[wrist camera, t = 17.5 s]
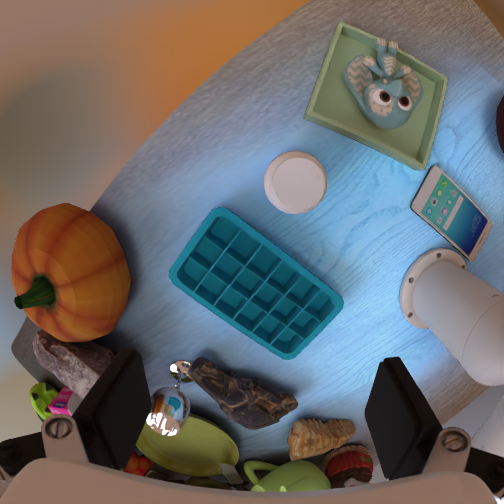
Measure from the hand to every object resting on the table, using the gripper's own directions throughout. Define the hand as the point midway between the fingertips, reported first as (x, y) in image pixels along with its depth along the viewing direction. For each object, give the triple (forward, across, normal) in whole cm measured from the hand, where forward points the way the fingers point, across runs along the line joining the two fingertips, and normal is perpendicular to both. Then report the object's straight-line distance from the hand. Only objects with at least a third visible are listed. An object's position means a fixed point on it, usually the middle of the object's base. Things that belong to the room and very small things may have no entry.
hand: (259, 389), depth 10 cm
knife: (+26, +1, +51) cm, 57 cm away
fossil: (+25, -9, +40) cm, 48 cm away
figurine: (+25, +31, +48) cm, 62 cm away
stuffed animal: (+23, -14, -26) cm, 38 cm away
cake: (+28, -18, +45) cm, 56 cm away
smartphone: (+28, -27, -4) cm, 39 cm away
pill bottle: (+28, -3, -7) cm, 29 cm away
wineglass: (+28, +12, +22) cm, 38 cm away
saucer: (+28, +13, +40) cm, 50 cm away
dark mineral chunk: (+25, -2, +29) cm, 39 cm away
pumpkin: (+28, +26, +5) cm, 39 cm away
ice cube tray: (+28, +1, +6) cm, 29 cm away
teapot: (+21, -13, +49) cm, 55 cm away
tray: (+28, -14, -19) cm, 37 cm away
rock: (+21, +33, +23) cm, 46 cm away
